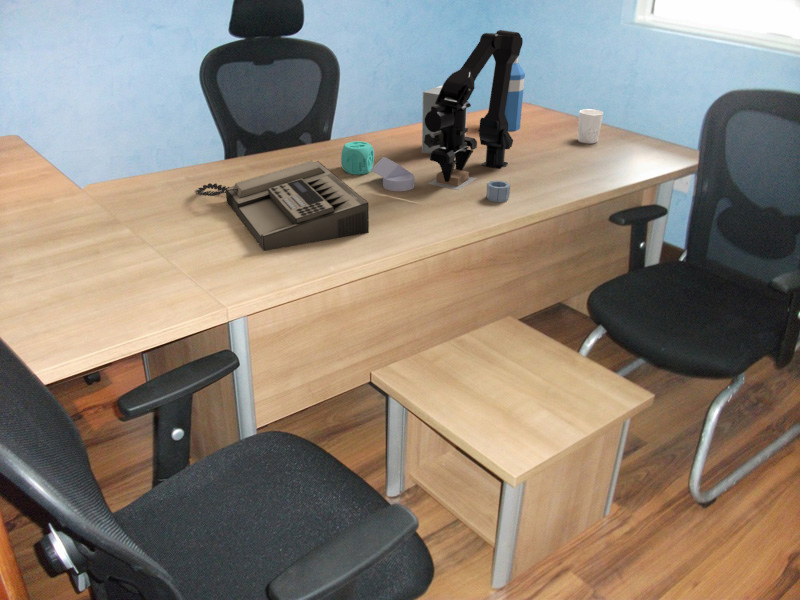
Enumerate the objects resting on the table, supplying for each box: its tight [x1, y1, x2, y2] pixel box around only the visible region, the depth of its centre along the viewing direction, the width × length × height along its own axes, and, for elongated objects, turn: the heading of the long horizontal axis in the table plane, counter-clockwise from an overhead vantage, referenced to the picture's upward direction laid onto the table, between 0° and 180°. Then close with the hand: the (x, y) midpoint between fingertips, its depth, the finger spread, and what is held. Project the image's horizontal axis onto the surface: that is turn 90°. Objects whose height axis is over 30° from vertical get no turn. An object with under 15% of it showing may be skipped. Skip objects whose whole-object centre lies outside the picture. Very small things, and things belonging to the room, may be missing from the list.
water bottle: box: [505, 56, 526, 132], centre depth 264 cm, size 9×9×25 cm
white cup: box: [577, 108, 604, 145], centre depth 255 cm, size 8×8×10 cm
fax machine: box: [195, 160, 370, 252], centre depth 194 cm, size 45×34×10 cm
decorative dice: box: [340, 140, 375, 176], centre depth 224 cm, size 8×8×8 cm
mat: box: [427, 176, 478, 191], centre depth 218 cm, size 12×10×1 cm
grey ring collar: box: [485, 180, 511, 203], centre depth 205 cm, size 6×6×4 cm
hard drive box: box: [421, 84, 468, 155], centre depth 241 cm, size 16×8×20 cm, turn 144°
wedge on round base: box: [370, 156, 415, 192], centre depth 214 cm, size 9×7×13 cm
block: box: [435, 168, 470, 187], centre depth 217 cm, size 7×7×2 cm
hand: (452, 178), depth 217 cm, fingers closed on block, 7 cm apart
